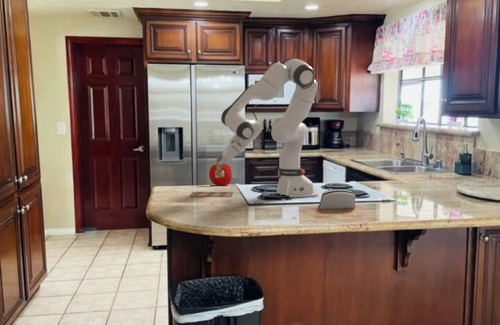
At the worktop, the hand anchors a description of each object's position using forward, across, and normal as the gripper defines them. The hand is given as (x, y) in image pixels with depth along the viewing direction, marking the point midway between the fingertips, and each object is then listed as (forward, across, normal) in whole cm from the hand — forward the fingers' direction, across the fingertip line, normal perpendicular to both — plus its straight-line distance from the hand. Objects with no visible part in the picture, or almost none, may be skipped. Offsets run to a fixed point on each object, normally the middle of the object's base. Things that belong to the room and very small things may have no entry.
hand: (218, 163), depth 223 cm
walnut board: (+15, +2, +10) cm, 18 cm away
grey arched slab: (-26, +32, +51) cm, 66 cm away
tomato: (+11, -31, +14) cm, 36 cm away
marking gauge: (+4, 0, +5) cm, 7 cm away
